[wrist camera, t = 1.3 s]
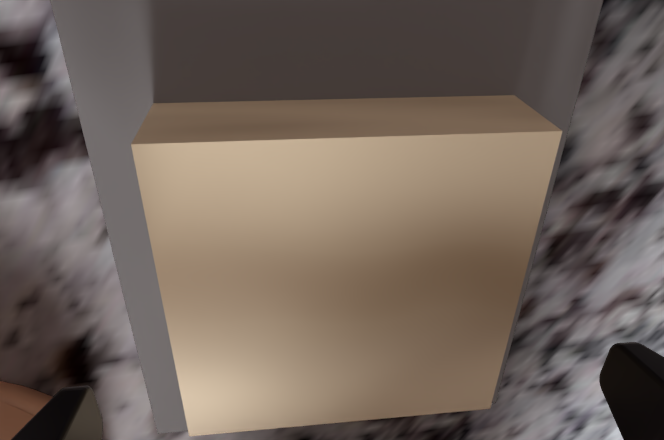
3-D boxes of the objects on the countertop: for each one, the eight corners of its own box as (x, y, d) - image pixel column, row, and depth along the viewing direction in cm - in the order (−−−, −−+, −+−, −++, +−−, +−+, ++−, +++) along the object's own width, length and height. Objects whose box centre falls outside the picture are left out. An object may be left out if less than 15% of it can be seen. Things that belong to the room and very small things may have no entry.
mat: (489, 389, 16) (495, 403, 16) (160, 418, 15) (157, 433, 15) (597, -37, 10) (612, -35, 10) (51, -41, 9) (41, -38, 8)
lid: (462, 349, 14) (490, 408, 13) (197, 370, 14) (189, 436, 12) (513, 95, 11) (562, 130, 9) (153, 103, 10) (130, 144, 8)
